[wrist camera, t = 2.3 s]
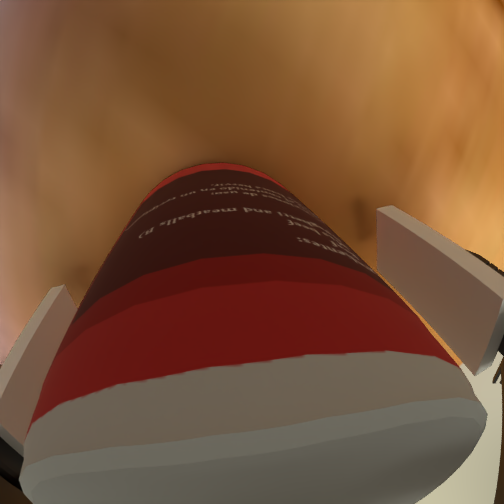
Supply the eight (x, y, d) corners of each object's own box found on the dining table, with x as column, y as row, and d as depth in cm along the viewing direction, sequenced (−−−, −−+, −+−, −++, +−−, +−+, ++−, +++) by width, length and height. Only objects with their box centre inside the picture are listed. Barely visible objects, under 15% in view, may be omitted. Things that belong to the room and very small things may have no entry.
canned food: (208, 350, 15) (234, 566, 5) (93, 237, 12) (-38, 480, 2) (336, 267, 14) (480, 464, 4) (239, 120, 11) (500, 175, 1)
